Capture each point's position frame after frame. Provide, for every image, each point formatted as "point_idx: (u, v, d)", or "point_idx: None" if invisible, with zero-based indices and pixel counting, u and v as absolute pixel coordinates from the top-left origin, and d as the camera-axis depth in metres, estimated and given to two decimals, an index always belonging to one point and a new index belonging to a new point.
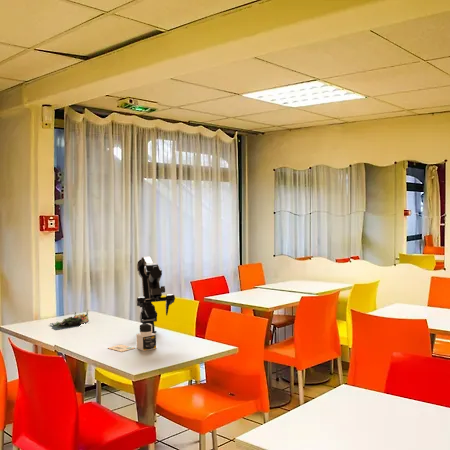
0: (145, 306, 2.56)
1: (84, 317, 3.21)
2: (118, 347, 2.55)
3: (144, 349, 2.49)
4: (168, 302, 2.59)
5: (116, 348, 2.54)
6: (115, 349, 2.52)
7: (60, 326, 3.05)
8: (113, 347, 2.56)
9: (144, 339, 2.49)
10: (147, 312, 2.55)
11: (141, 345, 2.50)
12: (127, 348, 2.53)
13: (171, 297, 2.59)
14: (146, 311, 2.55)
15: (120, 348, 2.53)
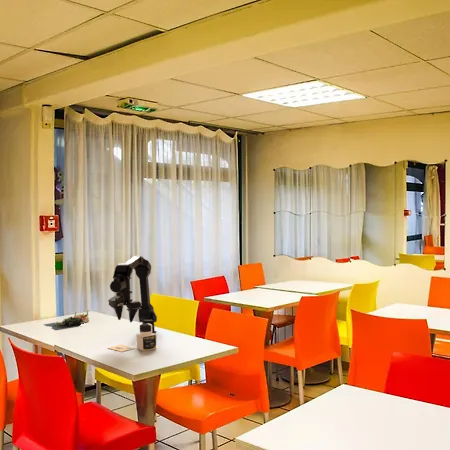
0: (115, 309, 2.58)
1: (84, 317, 3.21)
2: (118, 347, 2.55)
3: (144, 349, 2.49)
4: (129, 311, 2.50)
5: (116, 348, 2.54)
6: (115, 349, 2.52)
7: (60, 326, 3.05)
8: (113, 347, 2.56)
9: (144, 339, 2.49)
10: (117, 315, 2.58)
11: (141, 345, 2.50)
12: (127, 348, 2.53)
13: (129, 307, 2.49)
14: (116, 314, 2.59)
15: (120, 348, 2.53)
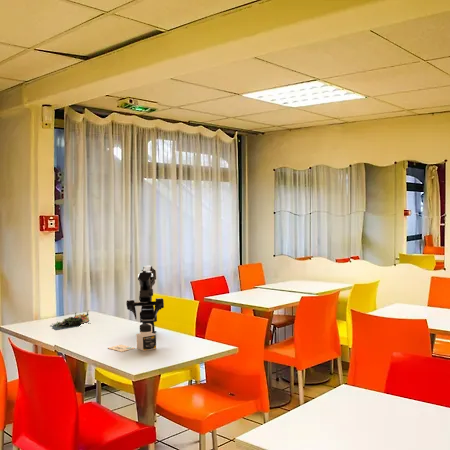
0: (133, 308, 2.63)
1: (84, 317, 3.21)
2: (118, 347, 2.55)
3: (144, 349, 2.49)
4: (156, 305, 2.64)
5: (116, 348, 2.54)
6: (115, 349, 2.52)
7: (60, 326, 3.05)
8: (113, 347, 2.56)
9: (144, 339, 2.49)
10: (135, 314, 2.62)
11: (141, 345, 2.50)
12: (127, 348, 2.53)
13: (159, 301, 2.65)
14: (134, 313, 2.62)
15: (120, 348, 2.53)
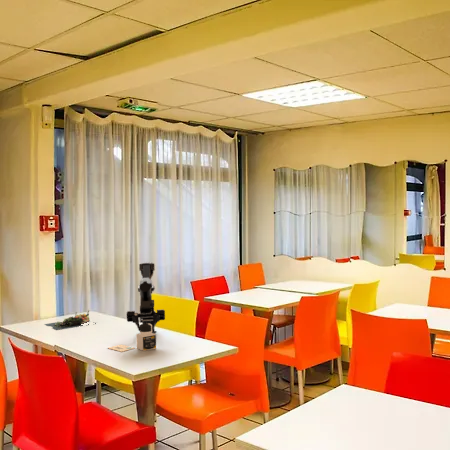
0: (137, 320, 2.54)
1: (85, 317, 3.22)
2: (118, 347, 2.55)
3: (144, 348, 2.49)
4: (155, 317, 2.56)
5: (116, 348, 2.54)
6: (115, 349, 2.52)
7: (61, 326, 3.06)
8: (113, 347, 2.56)
9: (144, 339, 2.49)
10: (138, 325, 2.53)
11: (141, 345, 2.50)
12: (127, 348, 2.53)
13: (161, 312, 2.57)
14: (137, 324, 2.53)
15: (120, 348, 2.53)
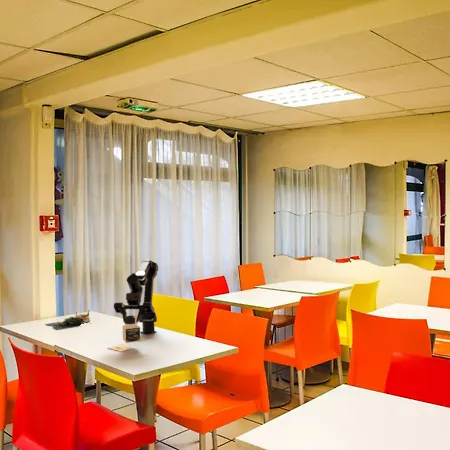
0: (123, 311, 2.55)
1: (85, 317, 3.22)
2: (118, 347, 2.55)
3: (127, 341, 2.49)
4: (140, 309, 2.54)
5: (116, 348, 2.54)
6: (115, 349, 2.52)
7: (61, 326, 3.06)
8: (113, 347, 2.56)
9: (126, 331, 2.49)
10: (123, 317, 2.53)
11: (124, 337, 2.50)
12: (127, 348, 2.53)
13: (146, 304, 2.55)
14: (123, 316, 2.54)
15: (120, 348, 2.53)
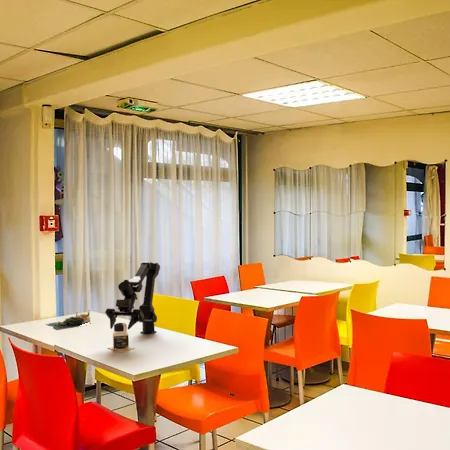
0: (111, 317, 2.57)
1: (85, 317, 3.22)
2: None
3: (115, 348, 2.50)
4: (132, 316, 2.54)
5: None
6: None
7: (61, 326, 3.06)
8: None
9: (114, 339, 2.50)
10: (111, 323, 2.55)
11: (113, 344, 2.51)
12: None
13: (136, 311, 2.54)
14: (110, 322, 2.55)
15: None
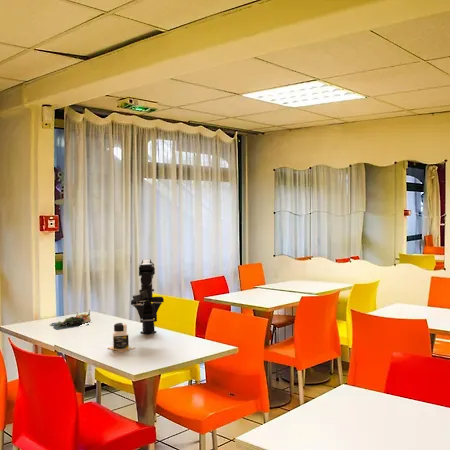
0: (137, 308, 2.70)
1: (86, 317, 3.22)
2: None
3: (115, 348, 2.50)
4: (152, 305, 2.64)
5: None
6: None
7: (62, 326, 3.06)
8: None
9: (114, 339, 2.50)
10: (139, 314, 2.70)
11: (113, 344, 2.51)
12: None
13: (153, 301, 2.62)
14: (138, 313, 2.70)
15: None
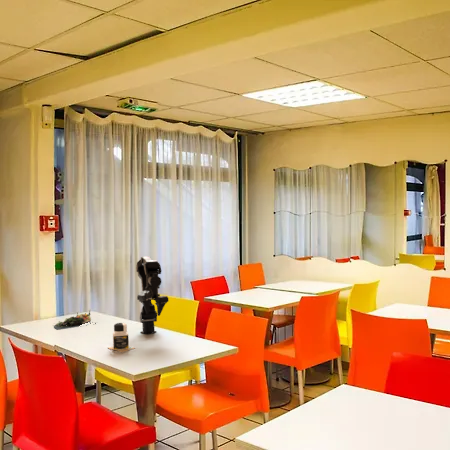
0: (143, 304, 2.73)
1: (86, 317, 3.22)
2: None
3: (115, 348, 2.50)
4: (157, 305, 2.65)
5: None
6: None
7: (62, 326, 3.06)
8: None
9: (114, 339, 2.50)
10: (145, 309, 2.73)
11: (113, 344, 2.51)
12: None
13: (157, 301, 2.63)
14: (145, 308, 2.74)
15: None
